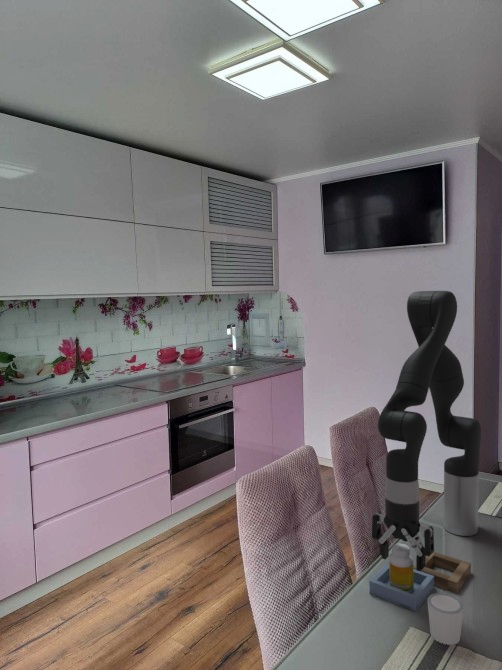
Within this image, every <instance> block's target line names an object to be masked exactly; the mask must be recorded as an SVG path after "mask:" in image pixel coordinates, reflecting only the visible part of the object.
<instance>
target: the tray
mask: <svg viewBox="0 0 502 670" xmlns="http://www.w3.org/2000/svg"><path fill="white" fill-rule="evenodd" d="M413 576H414V589H413V591H412V592H410V593H409V592H406V591H403V590H401V589H398V588H396V587H393V586H390V571H389V561H388V562H387V563H386V564H385V565H384V566H383V567H381V569H380V570H379V571H378V572H377V573H376V574H375V575H374V576H373V577H371V579H370V580H369V594H371V595H374V596H376V597H379V598H381V599H384V600H386V601H388V602H391V603H393V604H395V605H397V606H401V607H403V608H404V609H408V610H411V611H412V612H418V610H419V608H420V607H421V606H422V604H424V602H425V600H427V599H428V597H429V596H430V595H431V593H432V592H433V591H434V589H435V585H434V576H433V575H430V574H427V573H424V572H421V571H417V570H415V569H413Z"/></svg>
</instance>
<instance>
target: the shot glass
mask: <svg viewBox="0 0 502 670" xmlns="http://www.w3.org/2000/svg"><path fill="white" fill-rule="evenodd" d="M427 610H428V611H427V612H428V621H429V630H430V631H429V632H430V636H431V635H432V636H431V638H432V639H433V640H435V641H436V642H438V641H439V642H438V643H440V644H442V643H443V645H446V644H447V646H453V645H456V644H458V643H459V642H460V641H461V632H462V626H463V615H464V603H463V602H462V600H461V599H459V598H457V597H456V596H454V595H451V594H449V593H444V592H443V593H442V592H435V593H433V594H429V595H428V597H427Z"/></svg>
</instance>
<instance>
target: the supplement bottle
mask: <svg viewBox="0 0 502 670" xmlns="http://www.w3.org/2000/svg"><path fill="white" fill-rule="evenodd" d="M410 554H411V549H410V546H408V545H407V544H405V543H394V544H393V545H391V553H390V555H389V556H388V557H389V559H388V562H389V571H390V586H393V587H396V588H398V589H401V590H403V591H406V592H409V593H410V592H412V591H413V589H414V576H413V566H414V559H413V557H412V555H410Z"/></svg>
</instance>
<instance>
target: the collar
mask: <svg viewBox="0 0 502 670" xmlns="http://www.w3.org/2000/svg"><path fill="white" fill-rule="evenodd" d="M471 565H472V563H471V562H468V561H465V560H461V559H459V558H456V557H452V556H449V555H445V554H443V553H440V552H437V551H434V552H433V553H432V554H431V555H430V556H426V558H425V567H424V568H423V569H422V570H421V572H424V573H427V574H430V575H433V576H434V587H435V586H436V587H439V588H442V589H444V590H447V591H449V592H452V593H455V594H457V593H458V591H460V589H461V587H463V585H464V583H465V582H466V581H467V579H468V578H469V576H470V575H471V573H472V571H471V570H472V566H471ZM433 566H435V567H439V568H441V569H444V570H447V571H450V572H453V573H452V574H451V575H449V574H446V573H443V572H441V571H437V570H435V569H432V567H433ZM413 569H415V570H416V563H415V564H413Z"/></svg>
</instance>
